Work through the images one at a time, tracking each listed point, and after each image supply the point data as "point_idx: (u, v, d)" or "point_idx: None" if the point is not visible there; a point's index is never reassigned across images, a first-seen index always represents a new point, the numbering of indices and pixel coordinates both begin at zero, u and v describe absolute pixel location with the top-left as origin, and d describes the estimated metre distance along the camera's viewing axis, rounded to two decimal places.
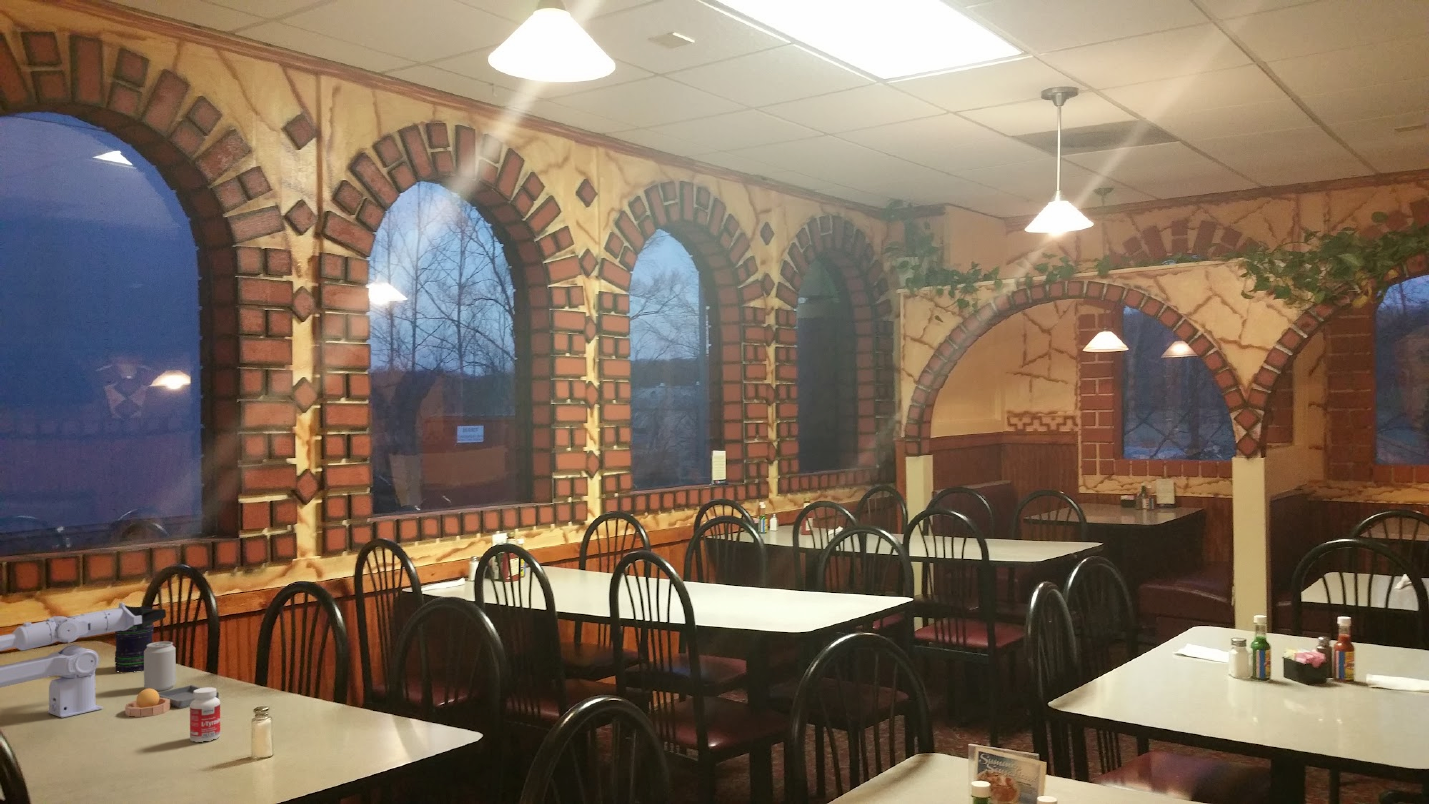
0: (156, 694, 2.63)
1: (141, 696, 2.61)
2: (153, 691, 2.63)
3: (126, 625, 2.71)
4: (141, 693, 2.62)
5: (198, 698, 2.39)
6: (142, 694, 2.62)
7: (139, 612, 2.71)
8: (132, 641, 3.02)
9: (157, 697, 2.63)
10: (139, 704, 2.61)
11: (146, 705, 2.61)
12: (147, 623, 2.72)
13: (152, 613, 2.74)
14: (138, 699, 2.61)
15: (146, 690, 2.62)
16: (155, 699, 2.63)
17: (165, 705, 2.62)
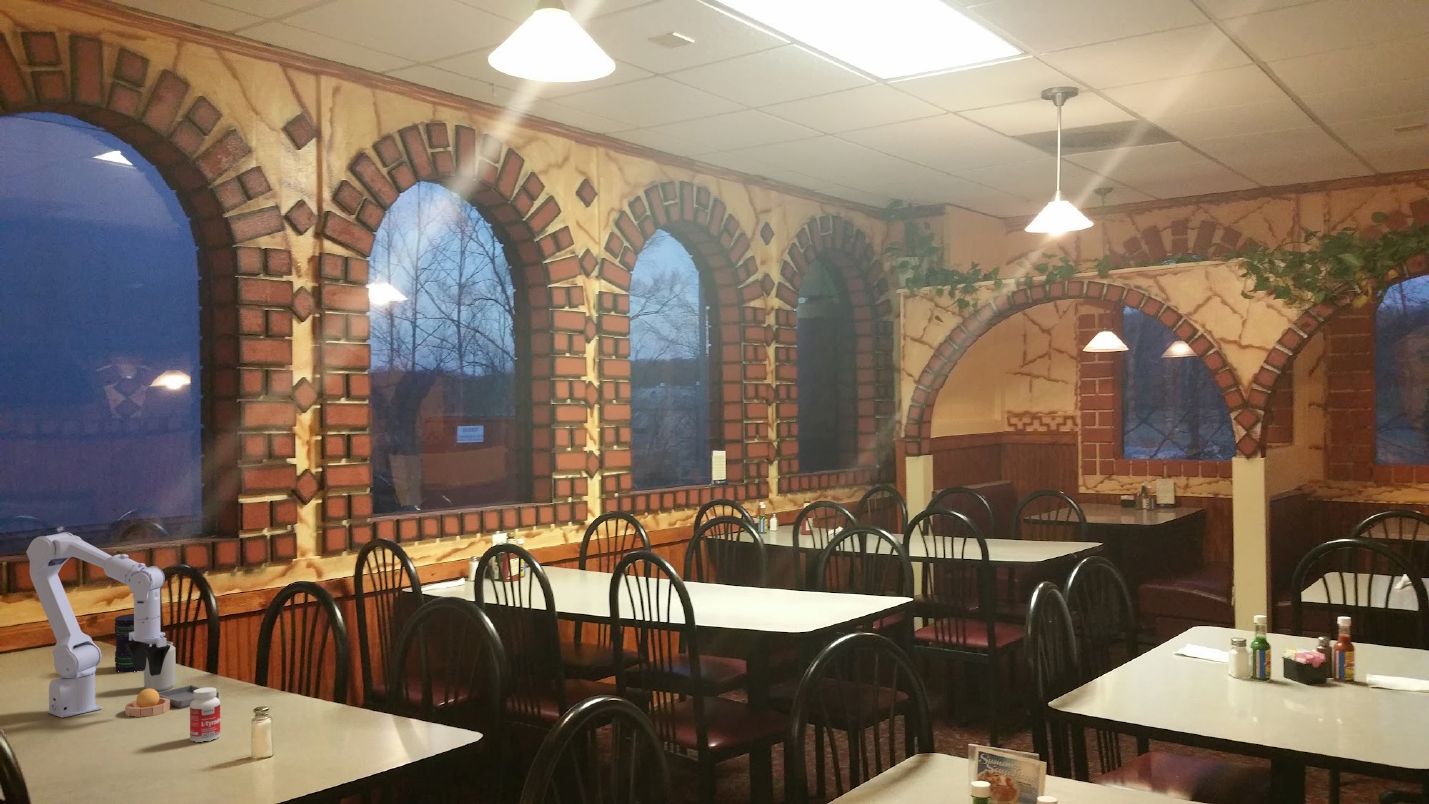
0: (156, 694, 2.63)
1: (141, 696, 2.61)
2: (153, 691, 2.63)
3: (146, 638, 2.61)
4: (141, 693, 2.62)
5: (198, 698, 2.39)
6: (142, 694, 2.62)
7: None
8: None
9: (157, 697, 2.63)
10: (139, 704, 2.61)
11: (146, 705, 2.61)
12: (152, 655, 2.59)
13: (158, 660, 2.61)
14: (138, 699, 2.61)
15: (146, 690, 2.62)
16: (155, 699, 2.63)
17: (165, 705, 2.62)
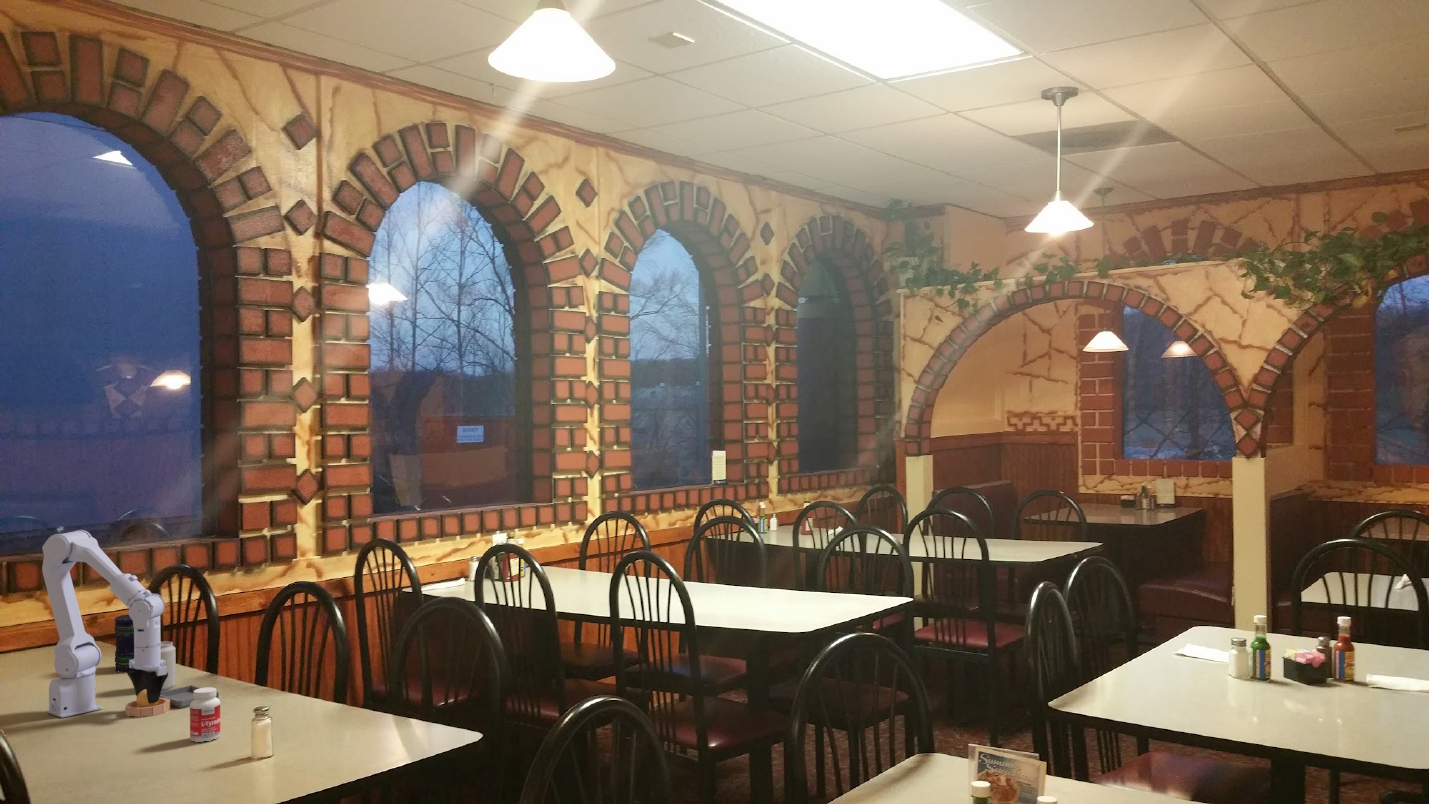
0: None
1: (141, 696, 2.61)
2: None
3: (146, 666, 2.61)
4: (141, 693, 2.62)
5: (198, 698, 2.39)
6: (142, 694, 2.62)
7: None
8: (132, 641, 3.02)
9: None
10: (139, 704, 2.61)
11: (146, 705, 2.61)
12: (150, 683, 2.60)
13: (156, 688, 2.62)
14: (138, 699, 2.61)
15: None
16: None
17: (165, 705, 2.62)
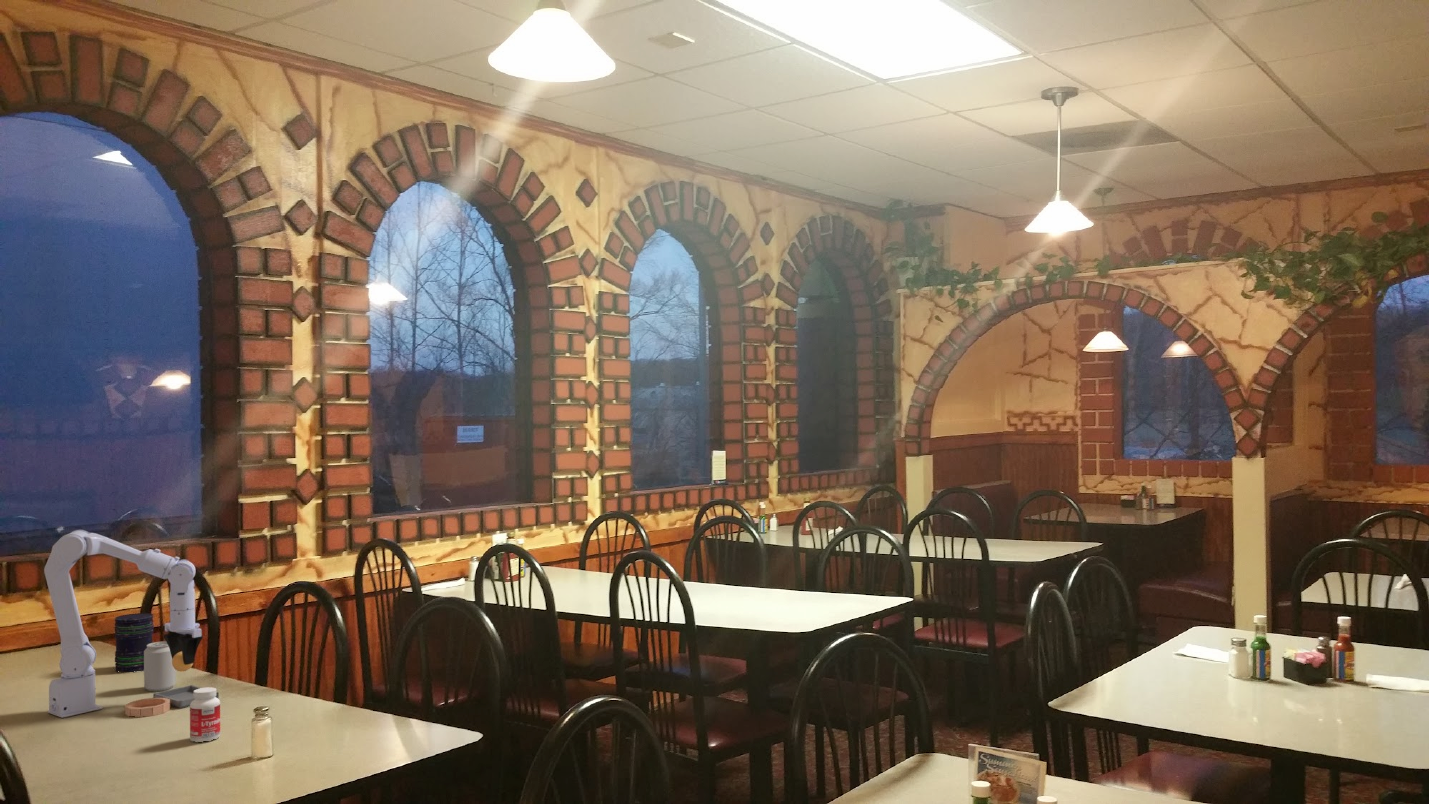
0: None
1: (176, 658, 2.70)
2: None
3: (182, 628, 2.70)
4: (176, 655, 2.71)
5: (198, 698, 2.39)
6: (177, 656, 2.70)
7: None
8: (132, 641, 3.02)
9: None
10: (175, 666, 2.70)
11: (182, 666, 2.70)
12: (186, 645, 2.68)
13: (192, 650, 2.71)
14: (174, 661, 2.70)
15: (181, 653, 2.71)
16: None
17: (165, 705, 2.62)
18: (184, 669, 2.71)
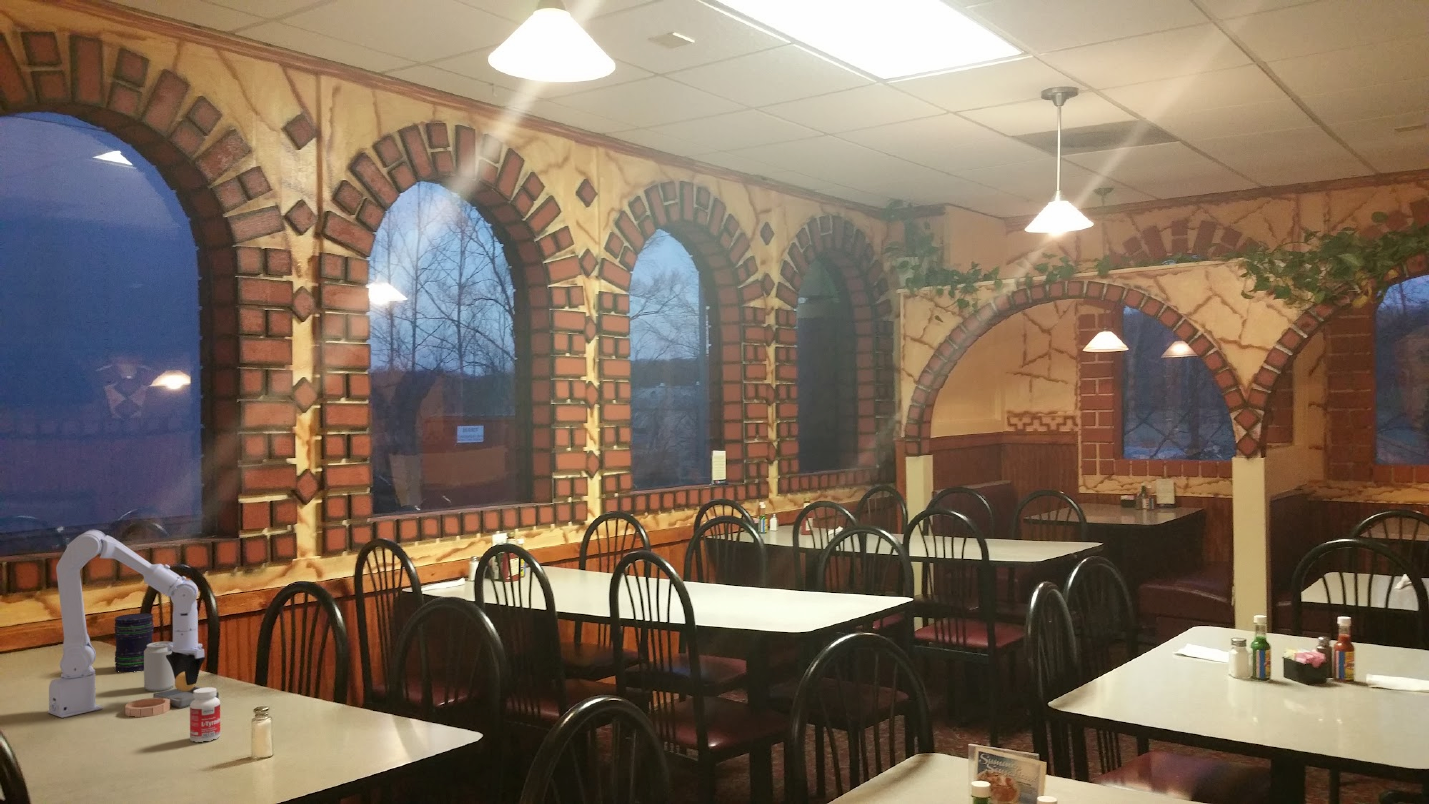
0: None
1: (179, 678, 2.71)
2: None
3: (184, 649, 2.70)
4: (179, 676, 2.71)
5: (198, 698, 2.39)
6: (180, 676, 2.71)
7: None
8: (132, 641, 3.02)
9: None
10: (178, 686, 2.71)
11: (184, 687, 2.71)
12: (188, 665, 2.69)
13: (194, 670, 2.72)
14: (176, 681, 2.71)
15: (184, 673, 2.72)
16: None
17: (165, 705, 2.62)
18: (187, 689, 2.72)
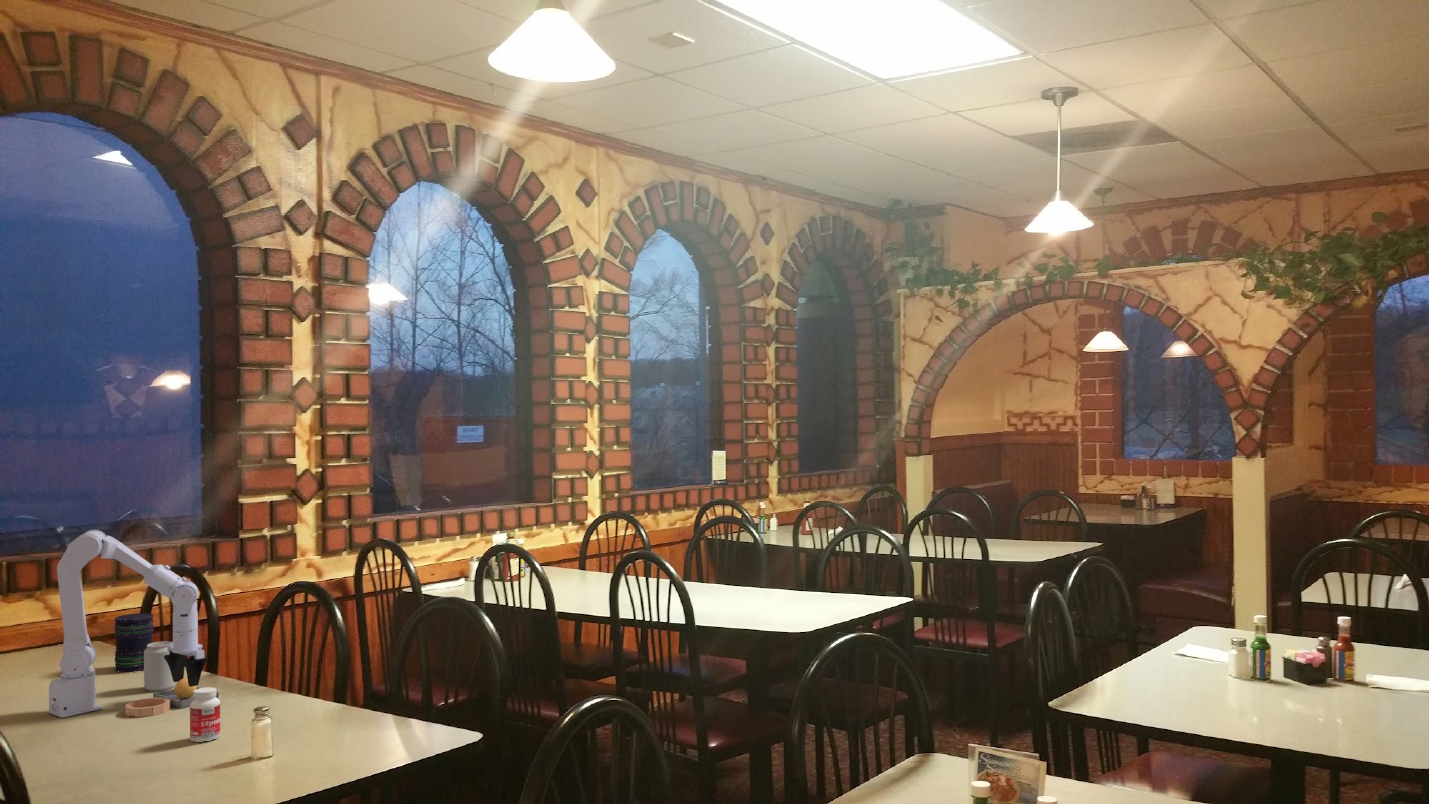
0: None
1: (179, 685, 2.71)
2: None
3: (184, 650, 2.70)
4: (179, 682, 2.71)
5: (198, 698, 2.39)
6: (180, 683, 2.71)
7: (202, 658, 2.71)
8: (132, 641, 3.02)
9: (195, 686, 2.73)
10: (178, 693, 2.71)
11: (184, 694, 2.71)
12: (191, 667, 2.69)
13: (196, 672, 2.71)
14: (177, 688, 2.71)
15: (184, 680, 2.72)
16: (193, 687, 2.72)
17: (165, 705, 2.62)
18: (187, 696, 2.72)
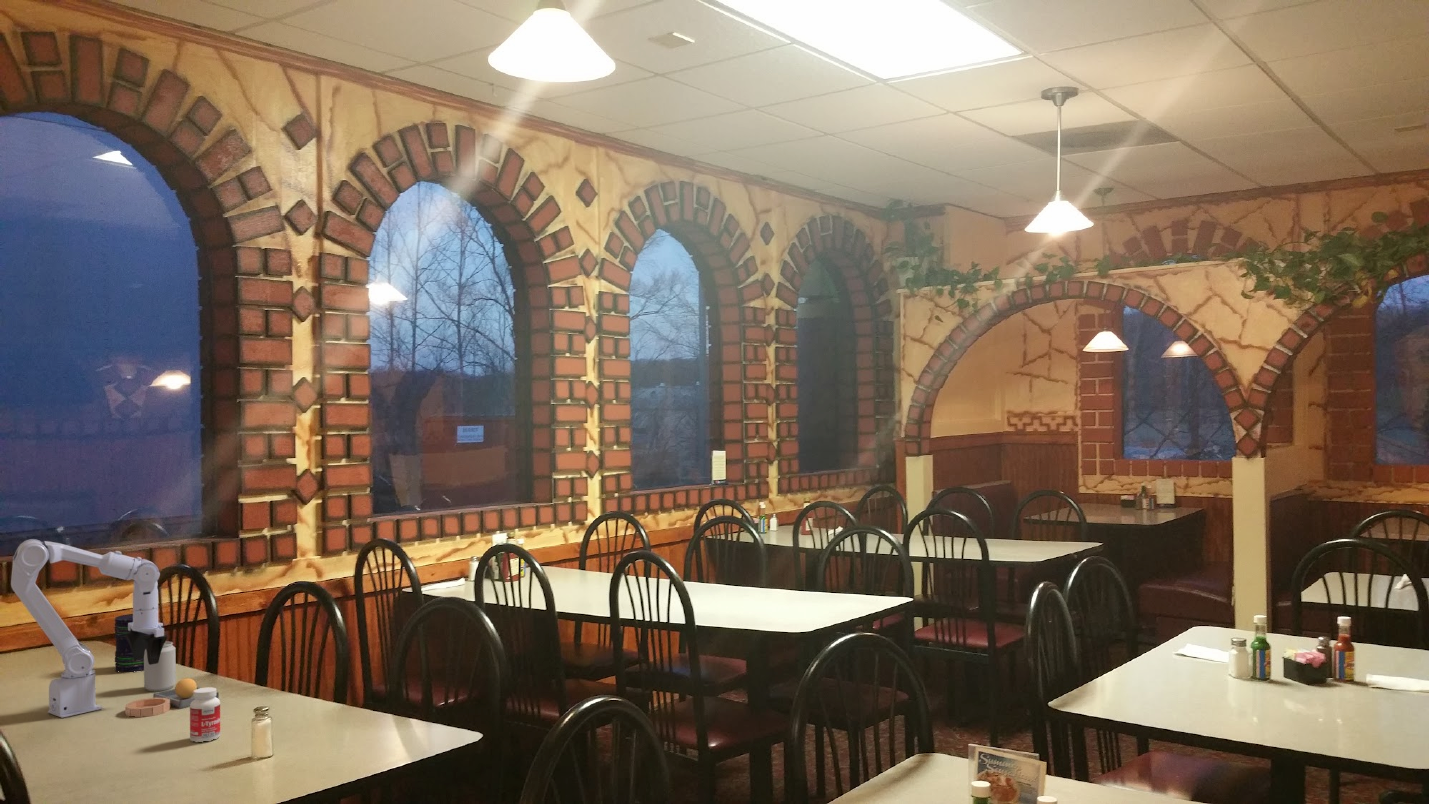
0: (194, 683, 2.73)
1: (180, 685, 2.71)
2: (191, 681, 2.73)
3: None
4: (180, 682, 2.71)
5: (198, 698, 2.39)
6: (180, 683, 2.71)
7: (162, 636, 2.71)
8: None
9: (195, 686, 2.73)
10: (178, 693, 2.71)
11: (185, 694, 2.71)
12: (150, 645, 2.68)
13: (156, 650, 2.71)
14: (177, 688, 2.71)
15: (185, 680, 2.72)
16: (193, 688, 2.72)
17: (165, 705, 2.62)
18: (187, 696, 2.72)
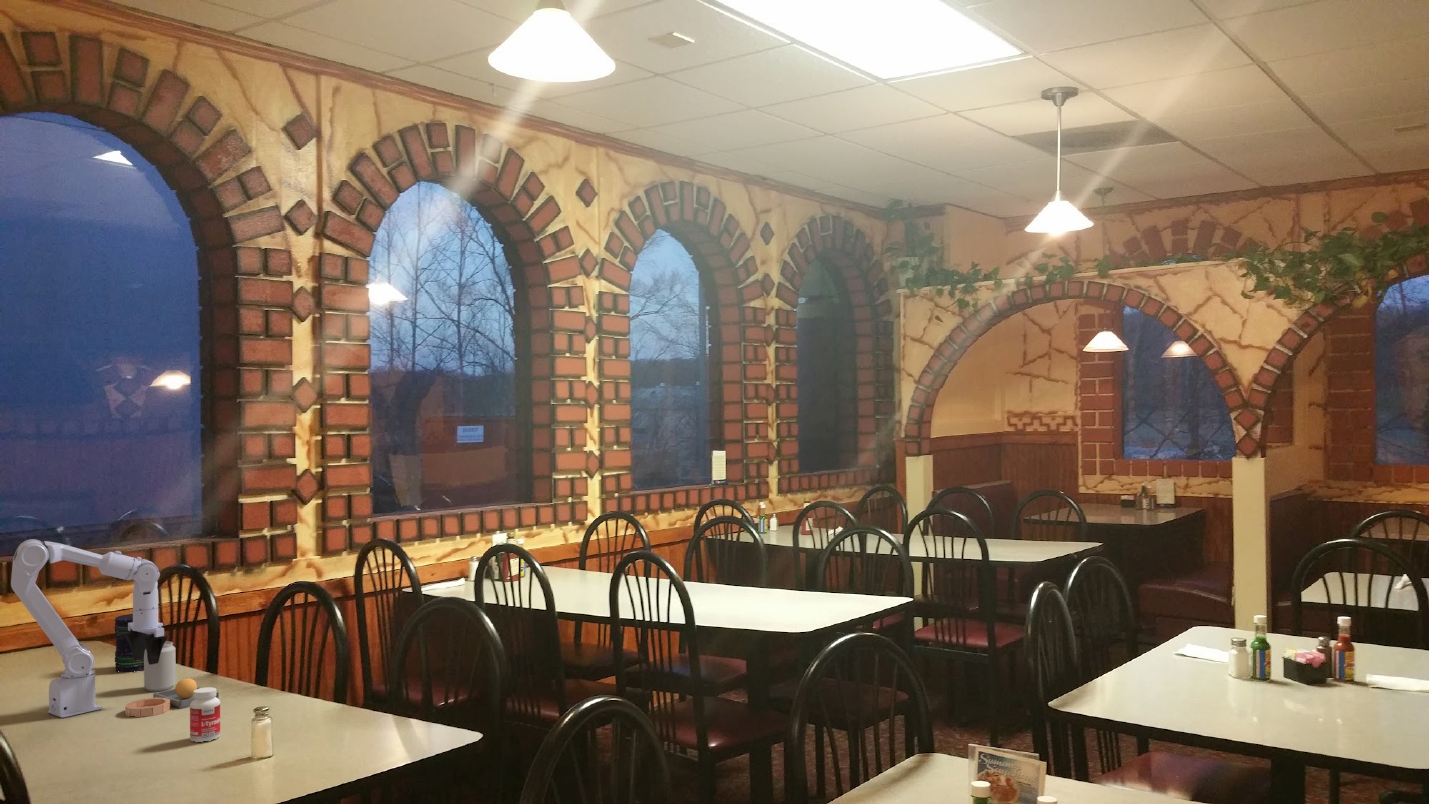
0: (194, 684, 2.73)
1: (180, 685, 2.71)
2: (192, 681, 2.73)
3: None
4: (180, 682, 2.71)
5: (198, 698, 2.39)
6: (181, 683, 2.71)
7: (162, 636, 2.71)
8: None
9: (195, 687, 2.73)
10: (178, 693, 2.71)
11: (185, 694, 2.71)
12: (150, 645, 2.68)
13: (156, 650, 2.71)
14: (177, 688, 2.71)
15: (185, 680, 2.72)
16: (194, 688, 2.72)
17: (165, 705, 2.62)
18: (187, 697, 2.72)
